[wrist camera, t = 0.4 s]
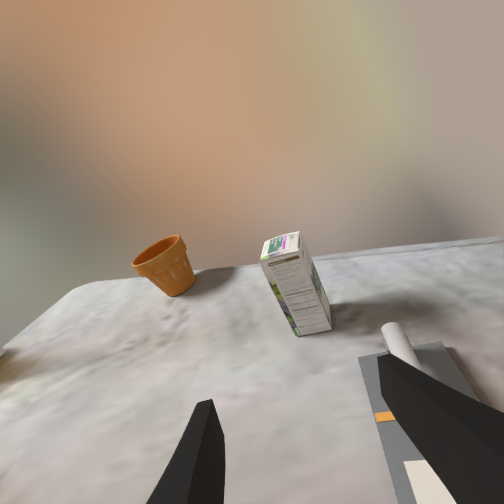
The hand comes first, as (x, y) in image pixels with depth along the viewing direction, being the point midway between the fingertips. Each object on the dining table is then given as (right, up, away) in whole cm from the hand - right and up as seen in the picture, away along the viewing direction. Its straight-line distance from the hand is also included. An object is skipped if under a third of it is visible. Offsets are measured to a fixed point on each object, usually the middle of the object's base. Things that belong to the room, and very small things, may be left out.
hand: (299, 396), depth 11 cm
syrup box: (+8, -5, +30) cm, 31 cm away
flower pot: (-22, -4, +63) cm, 67 cm away
